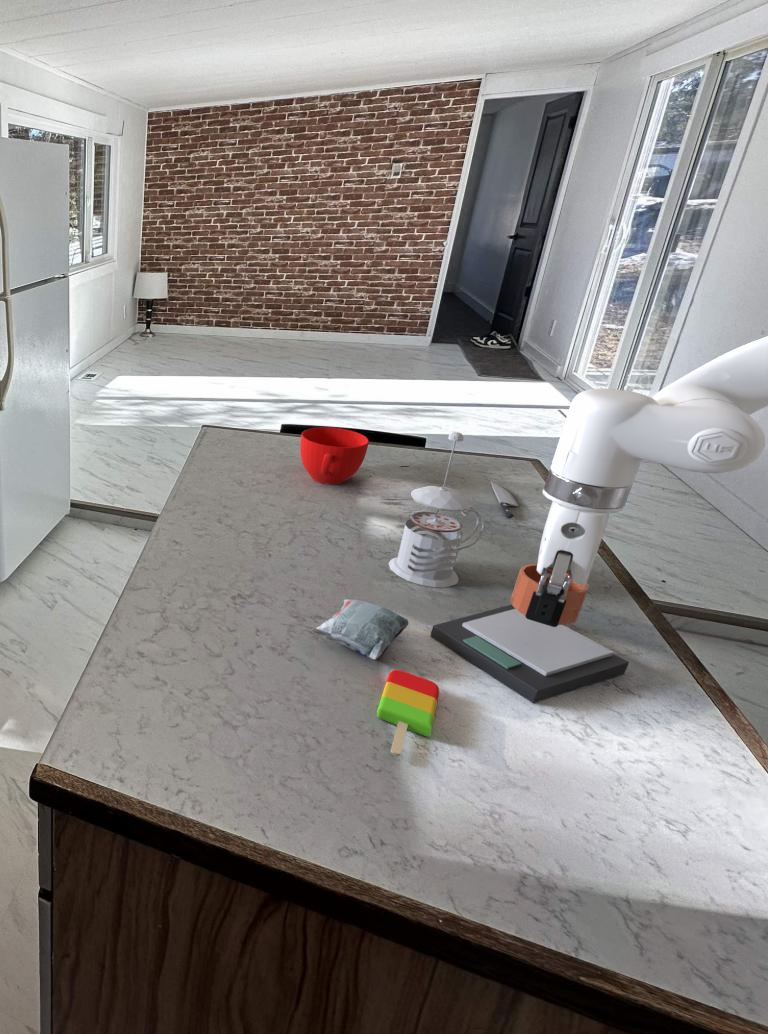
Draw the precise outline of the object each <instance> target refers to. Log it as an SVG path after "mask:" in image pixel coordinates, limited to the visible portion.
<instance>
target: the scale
mask: <svg viewBox="0 0 768 1034" xmlns="http://www.w3.org/2000/svg"><path fill="white" fill-rule="evenodd" d="M430 638H431V639H433V640H435V641H436V642H438V643H439V644H440V645H442V646H444V647H446V648H447V649H449V650H450V651H452V652H453V653H455V654H456V655H458V656H459V657H461V658H463V659H464V660H466V661H467V662H468V663H470V664H472V665H473V666H475V667H476V668H478V669H480V670H481V671H482V672H484V673H485V674H487V675H489V676H491V677H492V678H494V679H495V680H496V681H498V682H500V683H501V684H502V685H504V686H506V688H509V689H510V690H512V691H514V692H515V693H517V694H518V695H520V696H521V697H523V698H525V699H526V700H527V701H529V702H530V703H532V704H536V703H539V702H541V701H545V700H547V699H552V698H553V697H557V696H560V695H563V694H566V693H570V692H572V691H576V690H579V689H582V688H585V687H588V686H592V685H594V684H598V683H601V682H604V681H607V680H611V679H613V678H617V677H620V676H622V675H625V673H626V671H627V668H628V666H629V663H630V661H628V660H626V659H625V658H623V657H620V656H618V655H616V654H615V651H614V650H611V649H609V648H607V647H605V646H603V645H602V644H600V643H598V642H597V641H594V640H592V639H590V638H588V637H587V636H585V635H583V634H581V633H579V632H577V631H576V630H573V629H572V628H570V627H568V626H567V625H558V626H557V627H551V626H548V625H545V624H542V623H538V622H535V621H532V620H529V619H527V618H526V617H525V615H523V614H522V613H520V612H519V611H518V610H517V609H516V608H514V607H513V606H512V604H511V603H510V604H507V605H505V606H501V607H497V608H493V609H488V610H485V611H482V612H479V613H474V614H470V615H467V616H463V617H460V618H455V619H452V620H448V621H445V622H441V623H437V624H433V625H432V628H431V631H430Z"/></svg>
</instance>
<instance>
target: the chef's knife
mask: <svg viewBox="0 0 768 1034" xmlns="http://www.w3.org/2000/svg"><path fill="white" fill-rule="evenodd" d="M490 485H491V487H492V490H493V492H494V494H495V497H496V499H497V501H498V503H499V505H500V507H501V508H502V511H503V513H504V515H505V518H507V519H512V518H514V517H515V514H513V512H511V511H510V508H509V507H519V504H518V502H517V501H516V499H515V498H514V496H513V494H512V493H511V492H510V491H508V490H507V489H506V488H504V487H502V486H501V485H499V484H497V483H495V482H493V481H490Z"/></svg>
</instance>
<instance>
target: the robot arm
mask: <svg viewBox="0 0 768 1034" xmlns="http://www.w3.org/2000/svg"><path fill="white" fill-rule="evenodd" d="M766 407H768V335H767V336H764V337H762V338H759V339H756V340H753V341H750V342H748V343H746V344H743V345H741V346H739V347H736V348H734V349H731V350H729V351H727V352H725V353H723V354H721V355H719V356H717V357H716V358H714V359H712V360H710V361H708V362H706V363H704V364H703V365H701V366H699V367H697V368H696V369H694V370H692V371H690V372H688V373H687V374H685V375H683V376H682V377H680V378H677V380H674V381H673V382H671V383H669V384H668V385H665V386H664V387H663V388H662V389H660V390H659V391H657V392H656V393H655V394H653V396H652V397H651V396H648V395H645V394H643V393H641V392H640V393H639V392H636V391H631V390H624V389H617V388H616V389H615V388H590V389H586V390H583V391H580V392H579V393H577V394H576V395H575V396H574V397H573V399H572V400H571V403H570V406H569V409H568V411H567V415H566V418H565V420H564V424H563V426H562V430H561V434H560V436H559V440H558V442H557V446H556V449H555V452H554V455H553V458H552V461H551V464H550V468H549V471H548V474H547V477H546V480H545V483H544V486H543V489H542V494H543V496H544V497H545V498H547V500H550V501H552V502H551V505H550V508H549V511H548V514H547V517H546V522H545V524H544V528H543V532H542V536H541V540H540V544H539V545H540V546H539V551H538V555H537V556H538V557H537V563H536V564H537V572H538V573H539V574H540V575H542V576H541V579H540V582H539V585H538V588H537V591H536V592H535V591H534V592H533V595H532V598H531V601H530V603H529V606H528V609H527V612H526V616H525V617H526V618H527V619H529V620H532V621H535V622H538V623H542V624H545V625H548V626H551V627H557V626H558V623H559V620H560V618H561V615H562V612H563V609H564V607H565V604H566V600H565V597H566V594H567V591H568V588H569V585H570V583H571V579H573V582H574V583H578V584H579V585H581V586H582V585H585V584H587V583H588V580H589V578H590V574H591V571H592V568H593V565H594V563H595V560H596V556H597V554H598V551H599V548H600V545H601V543H602V540H603V537H604V534H605V531H606V529H607V525H608V522H609V521H608V520H609V517H610V514H614V513H615V514H616V513H619V512H621V511H623V510H624V508H625V506H626V503H627V500H628V498H629V496H630V493H631V491H632V487H633V485H634V482H635V479H636V477H637V474H638V471H639V469H640V466H641V463H642V462H643V461H647V462H651V463H654V464H655V463H656V464H659V465H663V466H668V467H671V468H675V469H679V470H683V471H688V472H694V473H700V474H723V473H730V472H734V471H738V470H741V469H743V468H745V467H748V466H749V465H751V464H753V463H754V462H755V461H757V460H758V458H760V456H761V455H762V453H763V451H764V450H765V447H766V435H765V432H764V430H763V428H762V427H761V425H760V424H759V423H758V422H757V421H756V419H755V418H753V417H752V416H751V415H752V414H754V413H756V412H758V411H760V410H762V409H764V408H766ZM548 567H549V569H553V571H552V574H551V573H547V570H548ZM566 573H569V574H568V577H567V578H566V577H565V576H566ZM546 578H550V581H549V584H548V583H546V584H545V582H546ZM563 582H564V584H563ZM562 586H563V587H562Z"/></svg>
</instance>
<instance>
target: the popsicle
mask: <svg viewBox="0 0 768 1034" xmlns="http://www.w3.org/2000/svg"><path fill="white" fill-rule="evenodd" d="M439 696H440V688H439V685H438V684H437V683H436V682H434V681H432V680H430V679H427V678H425V677H423V676H419V675H416V674H414V673H410V672H408V671H404V670H400V669H393V670H391V671H390V672H389V673H388V675H387V678H386V682H385V685H384V688H383V691H382V694H381V698H380V701H379V703H378V706H377V710H376V716H377V718H378V719H380V720H382V721H384V722H387V723H390V724H393V725H395V726H396V728H395V733H394V737H393V740H392V744H391V747H390V753H391V754H393V755H395V756H399V757H400V756H401V754H402V751H403V746H404V742H405V738H406V734H407V731H411V732H414V733H416V734H419V735H421V736H424V737H426V738H430V736H431V733H432V729H433V725H434V719H435V714H436V710H437V706H438V705H437V704H438V701H439Z"/></svg>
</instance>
